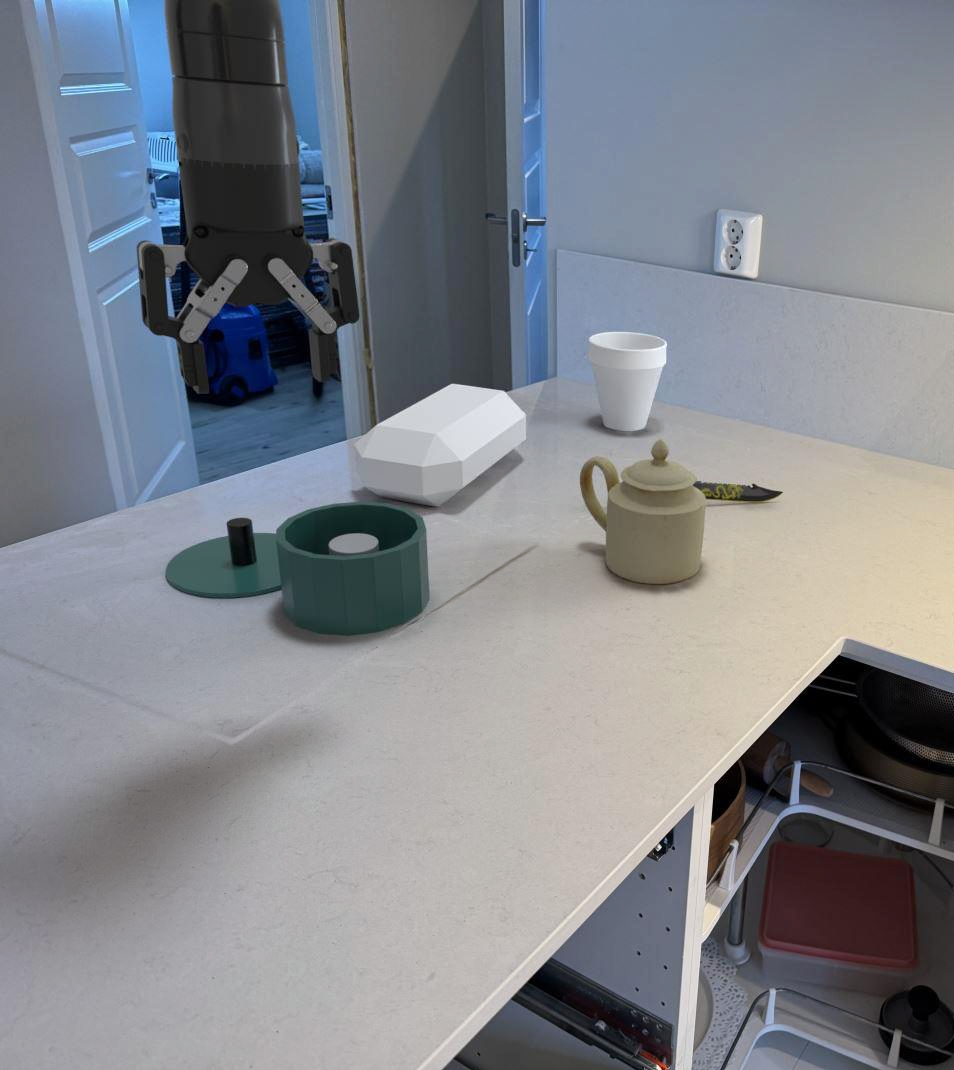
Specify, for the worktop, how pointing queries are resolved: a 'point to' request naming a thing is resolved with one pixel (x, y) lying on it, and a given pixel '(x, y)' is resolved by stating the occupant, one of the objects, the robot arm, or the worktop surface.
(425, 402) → the crystal
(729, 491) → the knife
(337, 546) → the black jar
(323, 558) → the pot
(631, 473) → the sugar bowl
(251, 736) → the worktop surface
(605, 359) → the cup
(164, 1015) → the worktop surface
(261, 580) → the lid
